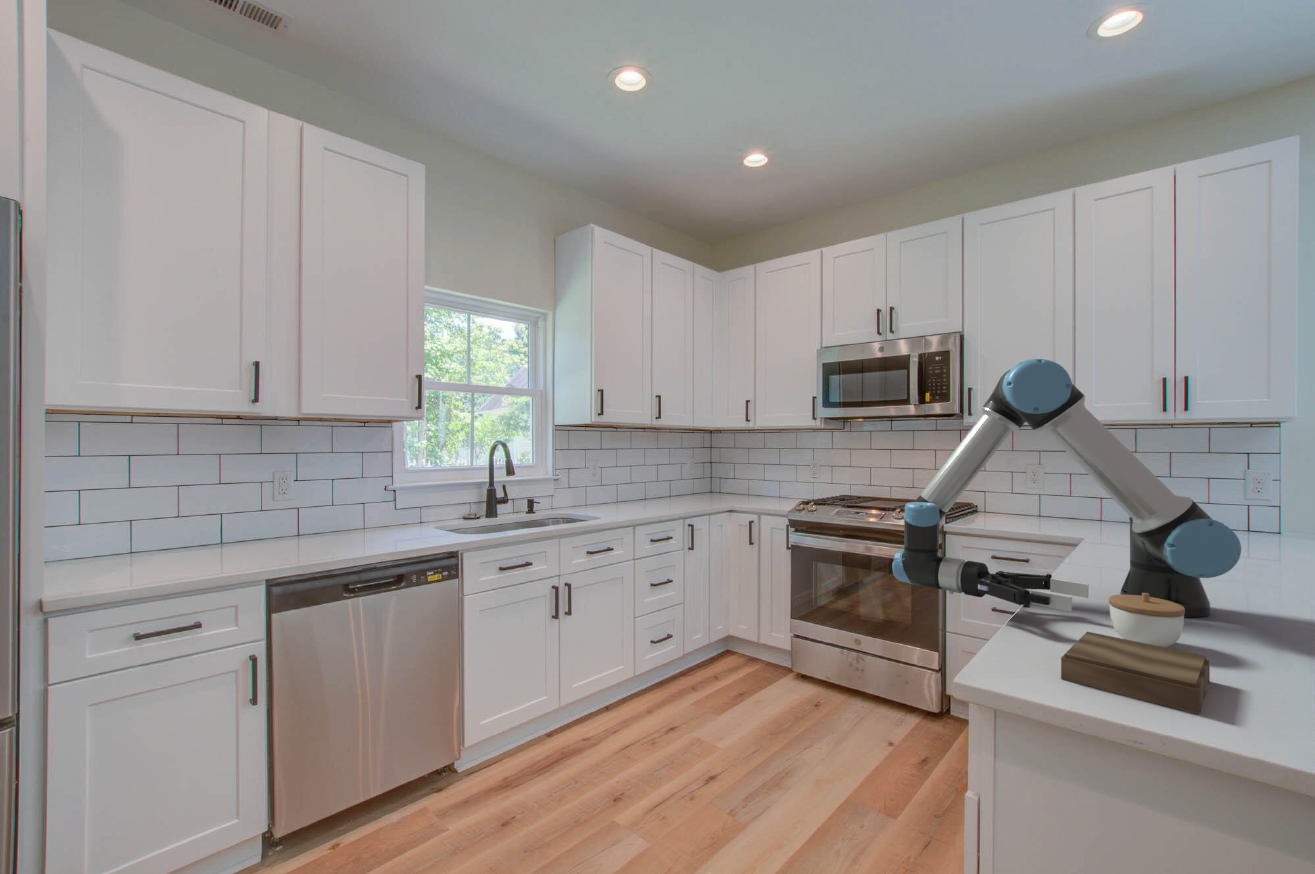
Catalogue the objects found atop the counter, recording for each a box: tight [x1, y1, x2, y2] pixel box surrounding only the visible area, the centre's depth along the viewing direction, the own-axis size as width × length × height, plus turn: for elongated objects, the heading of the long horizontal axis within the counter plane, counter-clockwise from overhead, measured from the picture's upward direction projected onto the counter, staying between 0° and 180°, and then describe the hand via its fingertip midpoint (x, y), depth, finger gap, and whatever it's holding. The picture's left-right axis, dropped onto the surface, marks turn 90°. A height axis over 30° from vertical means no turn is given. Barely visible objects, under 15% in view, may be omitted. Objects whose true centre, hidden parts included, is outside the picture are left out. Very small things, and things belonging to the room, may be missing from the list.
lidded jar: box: [1108, 593, 1185, 648], centre depth 106 cm, size 11×11×9 cm
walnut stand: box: [1060, 631, 1211, 715], centre depth 91 cm, size 16×16×4 cm
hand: (1080, 597), depth 114 cm, fingers open, 13 cm apart
